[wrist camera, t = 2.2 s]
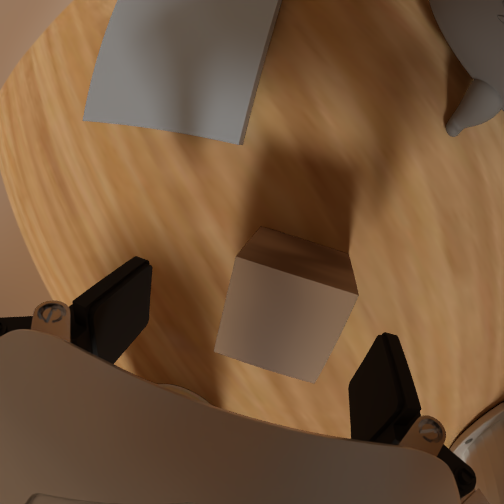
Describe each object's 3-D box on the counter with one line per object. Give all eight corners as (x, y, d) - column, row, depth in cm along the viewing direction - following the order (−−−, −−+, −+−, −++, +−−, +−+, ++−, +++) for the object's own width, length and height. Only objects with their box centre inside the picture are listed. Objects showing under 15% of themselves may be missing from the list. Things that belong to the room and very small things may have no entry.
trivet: (289, -22, 11) (287, -29, 10) (242, 145, 15) (238, 144, 14) (133, -17, 12) (126, -21, 11) (90, 121, 16) (82, 120, 15)
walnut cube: (348, 253, 15) (358, 295, 11) (318, 327, 17) (314, 383, 13) (261, 225, 16) (236, 256, 11) (240, 302, 18) (213, 351, 13)
